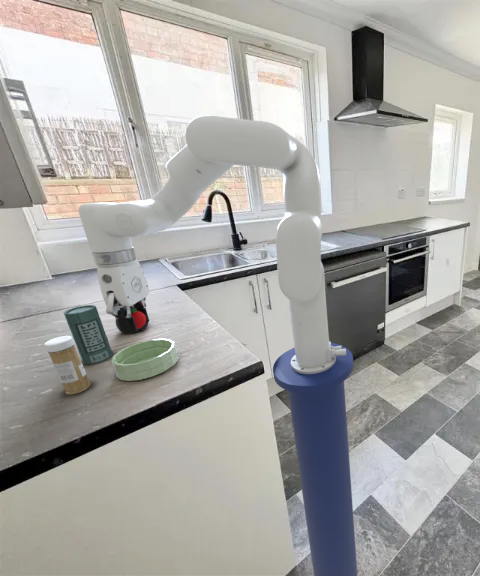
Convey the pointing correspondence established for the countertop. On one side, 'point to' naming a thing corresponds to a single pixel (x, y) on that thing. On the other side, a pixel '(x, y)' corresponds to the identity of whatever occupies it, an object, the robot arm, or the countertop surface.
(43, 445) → the countertop surface
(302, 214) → the robot arm
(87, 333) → the can
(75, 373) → the sprinkles bottle
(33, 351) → the countertop surface
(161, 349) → the bowl
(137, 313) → the tomato
